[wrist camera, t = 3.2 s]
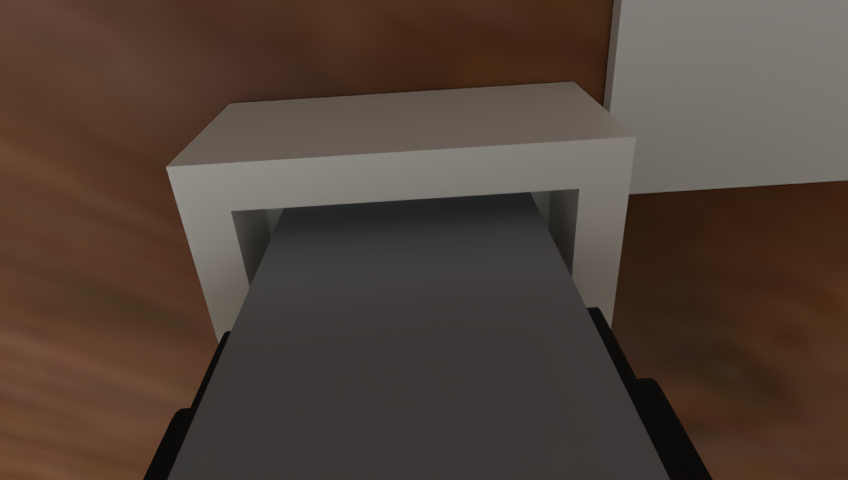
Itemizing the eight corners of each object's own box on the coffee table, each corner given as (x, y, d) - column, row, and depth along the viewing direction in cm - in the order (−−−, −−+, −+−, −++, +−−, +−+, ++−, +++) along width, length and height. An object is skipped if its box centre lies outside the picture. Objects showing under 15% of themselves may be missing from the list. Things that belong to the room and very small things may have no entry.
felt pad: (1021, -197, 11) (1047, -202, 10) (886, 169, 14) (902, 176, 14) (630, -173, 11) (640, -177, 10) (595, 188, 14) (600, 196, 14)
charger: (523, 178, 12) (703, 547, 5) (517, 358, 14) (631, 784, 7) (290, 193, 12) (121, 585, 5) (323, 371, 14) (244, 808, 7)
